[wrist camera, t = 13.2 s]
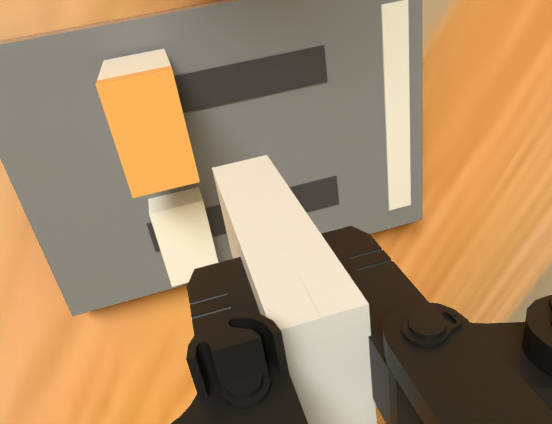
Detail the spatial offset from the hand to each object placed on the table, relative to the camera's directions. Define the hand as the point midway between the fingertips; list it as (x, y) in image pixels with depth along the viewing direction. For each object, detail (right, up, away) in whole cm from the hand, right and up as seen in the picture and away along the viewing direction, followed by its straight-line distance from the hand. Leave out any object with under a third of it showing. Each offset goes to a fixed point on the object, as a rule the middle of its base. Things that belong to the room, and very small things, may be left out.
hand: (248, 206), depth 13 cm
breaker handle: (-6, +6, +12) cm, 14 cm away
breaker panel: (-2, +4, +17) cm, 17 cm away
